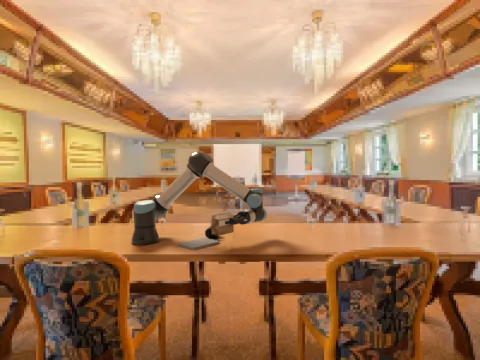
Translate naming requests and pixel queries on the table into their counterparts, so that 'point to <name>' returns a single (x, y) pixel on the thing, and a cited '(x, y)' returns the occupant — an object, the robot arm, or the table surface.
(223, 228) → the walnut box
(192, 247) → the gray board
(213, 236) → the end cap
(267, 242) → the table surface
